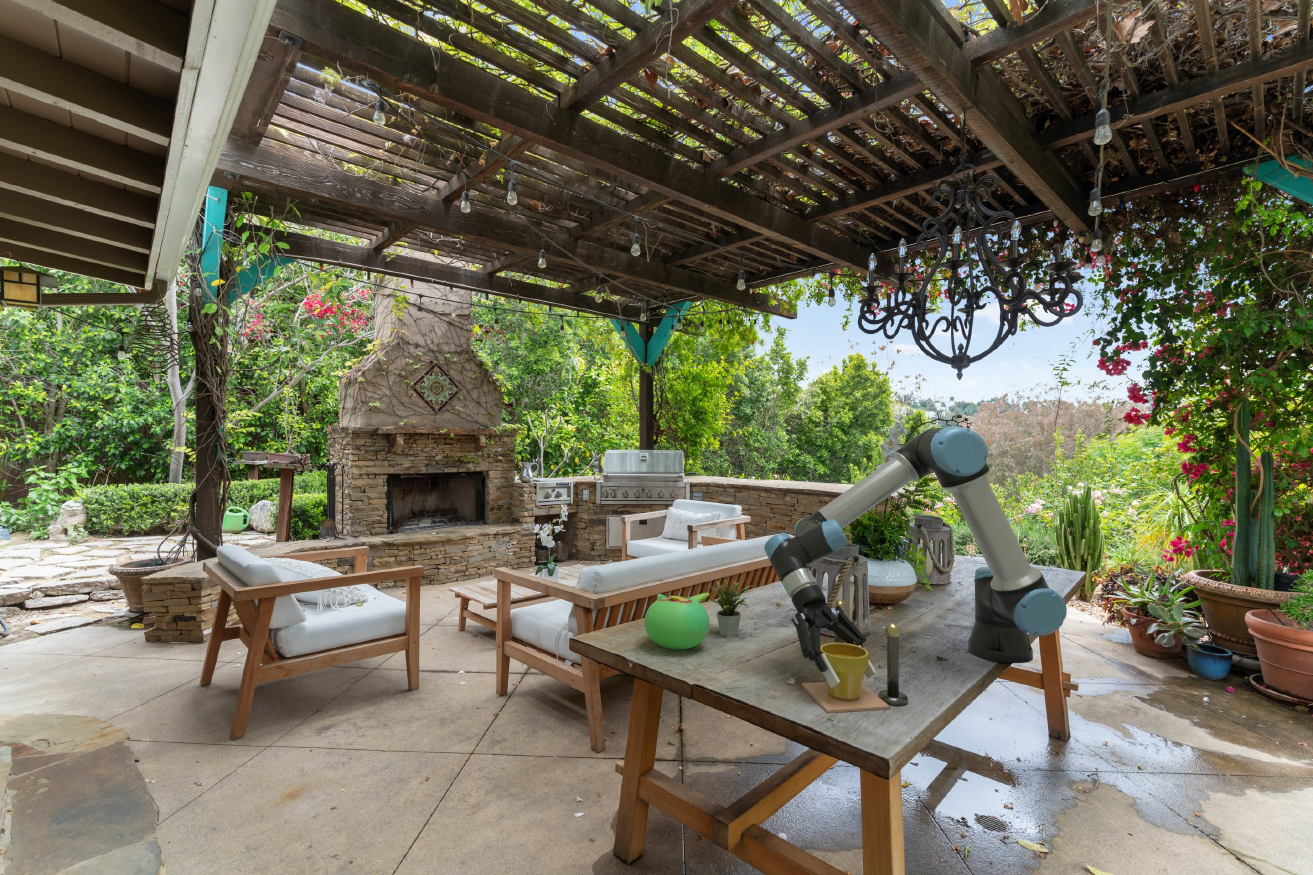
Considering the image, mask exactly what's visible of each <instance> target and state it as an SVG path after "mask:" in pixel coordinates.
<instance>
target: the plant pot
mask: <svg viewBox="0 0 1313 875" xmlns="http://www.w3.org/2000/svg"><path fill="white" fill-rule="evenodd" d="M820 649H821V654H824V653H825V656H826V657H827V659H828V661H829V662H830V664H831V666H832V668H833V670H834V671H835V673H836V675H837V677H838V679H839V681H840V682H839V683H838V684H837V685H836V686H835V687H834V688H831V687H830V685H829V683H828V682H827V680H826V679H825V682H827V687H828V692H829V693H830V694H831V695H832V696H834V697H836V698H839V699H845V700H853V699H857V698H858V697H859V696H860V691H861V687H862V684H863V681H864V677H865V674H864V673H865V670H867V669H868V661H869V660H870V657H869V656H870V655H869V651H868V650H867V649H866V648H864V647H863V648H862V647H860V646H857V645H853V644H847V643H846V642H844V643H834V642H828V643H825V644H822V645H820ZM821 654H820V655H821Z"/></svg>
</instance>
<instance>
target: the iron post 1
mask: <svg viewBox="0 0 1313 875" xmlns="http://www.w3.org/2000/svg"><path fill="white" fill-rule="evenodd" d="M836 606H840V607H841V609H842V611H843V613H844V614H845V610H846V608H847V606H846V602H844V601H843V600H841V599H836V600H834V602H833V603H832V608H835V607H836ZM833 634H834V635H833V637H834V638H833V640H834V642H833V643H845V641H843V640H842V639H841V638H840V637H839V636H837V635H836V634H835V633H834V632H833Z"/></svg>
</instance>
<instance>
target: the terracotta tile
mask: <svg viewBox="0 0 1313 875" xmlns="http://www.w3.org/2000/svg"><path fill="white" fill-rule="evenodd" d="M801 687H802V688H803V690H805V691H806V692H807V693H808V694H809V696H810V697H811V698H812V699H813V700H814V701H815V702H816V703H817V704H818V705H819V706H820V707H821V708H822V710H824V711H825V712H826V713H827V714H835V712H838V713H848V712H847V711H854V712H866V711H881V710H883V711H884V710H891V705H888V704H887V703H885V702H884V701H883V700H882V699H881V698H879V697H878V695H877V694H876V693H875V692H873V691H872V690H871V689H870V688H869V687H868V686H866V685H865V684H863V683H862V687H861V691H860V696H859V697H858V698H857V699H853V700H845V699H839V698H836V697H834V696H832V695H831V694H830V693H829V692H828V687H827V682H826V681H821V682H820V681H817V682H804V683H803V682H802V683H801Z"/></svg>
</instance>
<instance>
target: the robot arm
mask: <svg viewBox="0 0 1313 875" xmlns="http://www.w3.org/2000/svg"><path fill="white" fill-rule="evenodd" d="M988 457H989V451H988V446H987V443H986V441H985V440H984V438H983V437H982V436H981V434H979V433H977V431H974V430H972V429H970V428H967V427H963V426H948V427H934V428H929V429H926V430H924V431H921V433H919V434H917V435H916V436H915V437H914V438H912V439H910V441H908V442H907V443H906V444H904V445H903V446H902V447H900V448H899V449H898V450H896V451H894V452H893V454H892V458H891V459H889V460H888V461H887V462H886V463H884V464H883V465H881V466H880V467H878V468H877V469H876V470H874V471H873V472H871V473H870V474H868V475H867V476H866V477H864V478H863V479H861V480H860V481H859V482H857V483H856V484H855V485H853V486H852V487H850V488H849V489H847V490H846V491H844V492H843V493H841V494H840V495H839V496H837V497H836V498H834V499H833V500H832V501H830V502H829V503H827V504H826V505H824V506H823V507H821V508H820V509H819V510H818V511H816V512H814V513H813V514H811V515H810V516H807V517H802V518H800V519H799V520H798V521H797V522H796V524H795V526H794V535H795V536H794V537H791V536H790V534H789V533H786V532H781V533H777V534H774V535H773V536H771V537H770V538H768V540H766V542H765V544H764V546H763V547H764V552H765V554H766V556H767V559H768V561H769V563H770V564H771V566H772V567H773V570H774V571H775V574H776V575H777V577H778V578H779V580H780V583H781V584H782V586H783V588H784V590H785V591H786V594H787V595H788V597H789V598H790V599H791V603H792V605H793V607H794V608H795V610H796V611H797V612H796V613H795V615H793V616H792V617H791V622H792V624H793V625H794V627H795V629H796V634H797V639H798V641H799V646H800V649H801V653H802V656H803V658H805V659H807V658H808V660H809V661H810V662H814V663H815V665H816V667H817V668H818V671H819V672H820V673H822V674H823V676H824V677H825V681H826V680H827V682H828V683H829V685H830V687H831V688H834V687H835V686H836V685H837V684H838V683H839V682H840V681H839V679H838V677H837V675H836V673H835V671H834V670H833V668H832V666H831V664H830V662H829V661H828V659H827V657H826V656H825V653H824V654H821V649H820V647H821V637H820V635H821V634H820V633H821V632H820V629H827V630H828V631H831V632H833V634H834V633H835V634H836V635H837V636H839V637H840V638H841V639H842V640H843V641H844V643H847V644H853V645H857V646H860V647H862V648H864V644H865V643H866V641H867V638H866V637H865V636H864V634H863V633H862V632H861V631H860V630H859V629H858V628H857V627H856V625H855V624H854V623H853V622H852V621H851V620H850V618H848V616H847V615H846V614H845V612H844V613H843V611H842V609H841V607H840V606H836V607H835V608H833V607H830V606H829V605H828V604H827V602H826V601H827V600H826V599H827V598H826V596H825V594H824V592H823V590H822V589H821V587H820V586H819V585H818V582H817V580H816V578H815V577H814V575H813V573H812V571H811V570H810V569H809V566H808V565H810V564H813V563H814V562H816V561H818V560H821V559H823V558H825V557H827V556H829V555H831V554H833V553H837V552H838V550H841V549H842V548H844V547H846V546H847V543H848V539H847V537H846V534H845V531H844V530H843V529H844V528H845V527H847V526H848V525H849V524H851V523H852V522H854V521H855V520H857V519H858V518H860V517H861V516H862V515H864V514H866V513H867V512H868V511H869V510H872V509H873V508H874V507H875V506H877V505H878V504H880V503H881V502H883V501H884V500H886V499H888V498H889V497H890V496H892V495H893V494H894V493H896V492H897V491H899V490H900V489H902V488H903V487H905V486H906V485H908V484H909V483H910V482H918V481H920V480H921V479H923V478H924V477H925V478H926V477H927V476H929V475H931V474H935V477H936V478H937V481H938V482H939V484H940V486H941V489H944V490H947V491H949V492H951V494H952V496H953V498H954V500H955V503H956V505H957V506H958V508H959V510H960V513H961V514H962V516H963V518H964V520H965V522H966V524H967V526H968V529H969V531H970V532H971V534H972V536H973V538H974V540H975V543H976V545H977V547H978V548H979V550H980V553H981V554H982V556H983V559H984V560H985V563H986V564H987V566H982V567H977V568H976V570H975V571H974V572H975V573H974V578H973V582H974V624H973V627H972V629H971V632H970V635H969V638H968V640H967V649H968V652H970V653H971V654H973V655H975V656H977V657H980V658H982V659H986V660H989V661H993V662H998V663H1008V664H1026V663H1027V664H1028V663H1030V662H1032V661H1033V659H1034V650H1033V647H1032V645H1031V642H1030V641H1031V640H1030V639H1029V636H1028V634H1030V635H1034V636H1038V637H1040V636H1043V637H1044V636H1048V635H1051V634H1053V633H1055V632H1056V631H1058V630H1059V629H1060V628H1061V627H1062V626H1063V624H1064V621H1065V619H1066V618H1067V613H1068V610H1067V609H1068V608H1067V605H1066V604H1067V603H1066V601H1065V599H1064V598H1063V597H1062V595H1061V594H1059V593H1058V592H1057V591H1056V590H1054V589H1051V588H1050V587H1049V585H1048V583H1047V581H1046V579H1045V577H1044V575H1043V573H1042V572H1041V569H1039V568H1036V567H1034V566H1032V565H1031V564H1030V563H1029V560H1028V558H1027V557H1026V555H1025V552H1024V550H1023V549H1022V547H1021V544H1020V543H1019V540H1018V538H1017V536H1016V535H1015V532H1014V531H1013V529H1012V526H1011V525H1010V522H1009V521H1008V518H1007V517H1006V514H1005V512H1004V510H1003V508H1002V506H1001V504H1000V503H999V501H998V498H997V497H996V495H995V492H994V490H993V489H992V487H991V484H990V482H989V480H988V476H989V474H990V472H991V468H990V467H989V465H988V463H987V460H988ZM820 654H821V655H820ZM876 674H877V670H876V668H874V666H873V664H872V662H871V660H870V659H869V661H868V669H867V670H865V673H864V676H865V677H866V678H867V680H868V679H871V678H872V676H875V675H876Z"/></svg>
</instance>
